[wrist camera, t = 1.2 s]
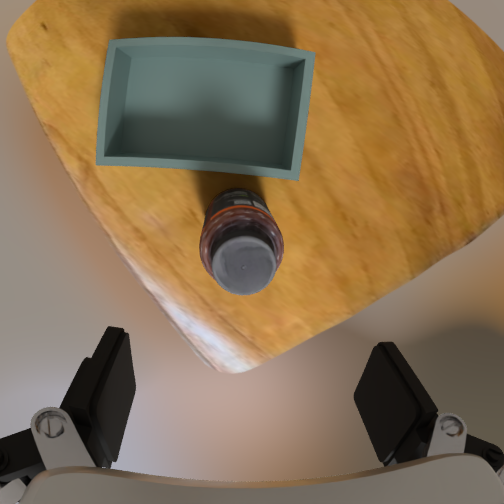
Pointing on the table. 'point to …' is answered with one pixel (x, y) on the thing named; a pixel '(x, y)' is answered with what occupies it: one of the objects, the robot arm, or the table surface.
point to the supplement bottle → (240, 242)
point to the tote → (204, 105)
